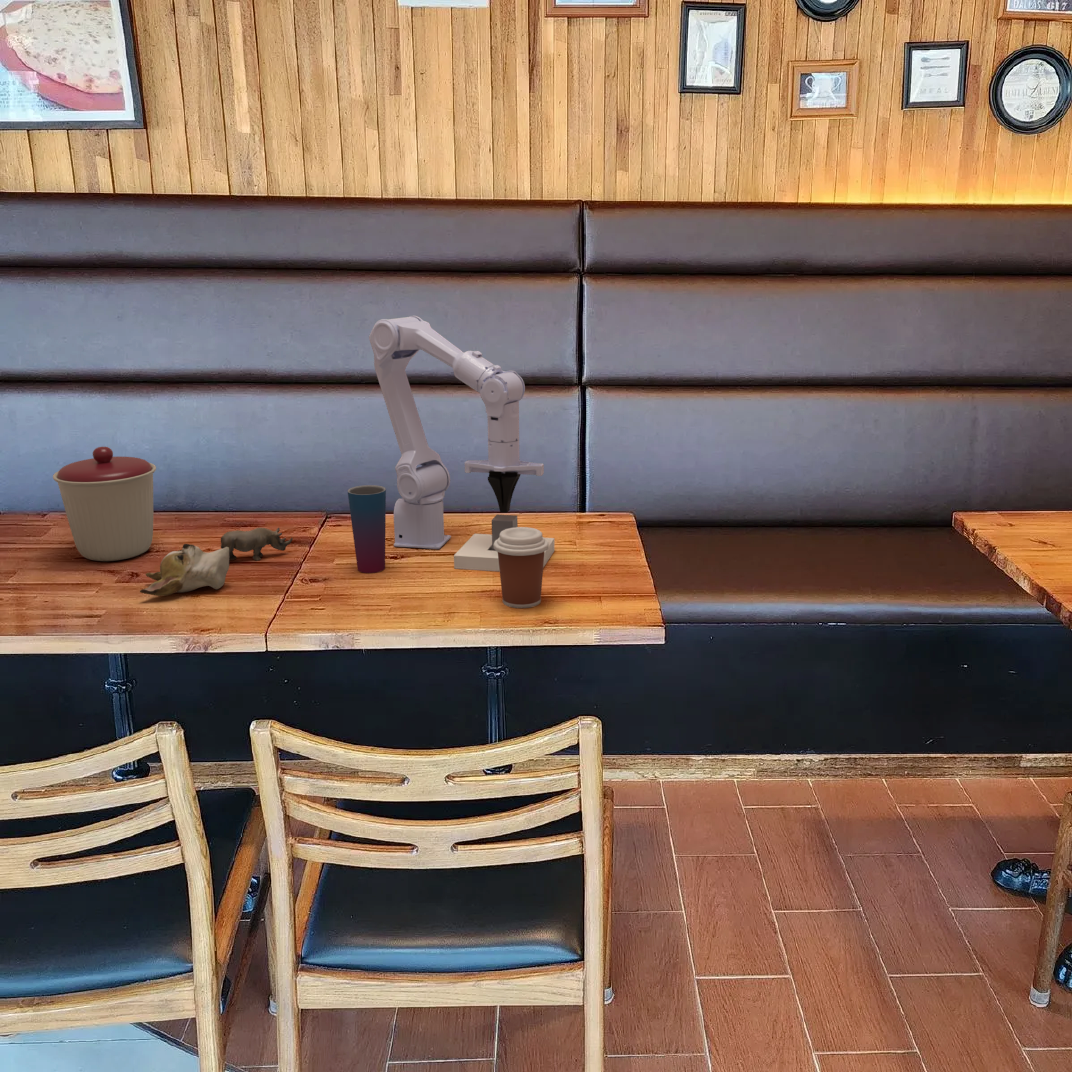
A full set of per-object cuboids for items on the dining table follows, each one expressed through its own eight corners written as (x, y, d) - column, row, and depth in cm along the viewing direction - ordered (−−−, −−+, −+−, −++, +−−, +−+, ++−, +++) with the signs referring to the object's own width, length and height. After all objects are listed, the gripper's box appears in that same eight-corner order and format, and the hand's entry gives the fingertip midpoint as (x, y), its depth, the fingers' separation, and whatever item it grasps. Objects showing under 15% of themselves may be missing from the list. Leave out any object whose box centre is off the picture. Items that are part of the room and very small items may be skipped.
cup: (397, 565, 187) (393, 487, 183) (376, 576, 181) (371, 496, 177) (366, 560, 190) (361, 483, 185) (345, 571, 184) (339, 492, 180)
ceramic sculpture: (226, 547, 170) (132, 560, 167) (234, 595, 172) (142, 608, 169) (228, 530, 180) (139, 542, 176) (236, 575, 182) (149, 588, 179)
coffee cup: (509, 615, 163) (508, 544, 159) (485, 597, 171) (484, 529, 167) (558, 605, 167) (558, 536, 164) (533, 588, 175) (532, 522, 171)
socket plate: (454, 568, 185) (453, 555, 185) (474, 545, 198) (474, 533, 198) (539, 574, 182) (539, 560, 181) (554, 550, 195) (554, 538, 194)
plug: (492, 561, 188) (491, 520, 186) (497, 554, 192) (496, 514, 190) (513, 562, 188) (512, 521, 185) (517, 555, 191) (517, 515, 189)
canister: (43, 562, 191) (26, 453, 184) (115, 535, 207) (101, 434, 200) (118, 573, 184) (102, 460, 178) (185, 545, 200) (173, 441, 194)
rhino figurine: (295, 556, 193) (293, 526, 191) (221, 566, 188) (218, 535, 186) (292, 550, 196) (289, 521, 195) (219, 559, 191) (215, 529, 190)
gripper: (459, 442, 181) (461, 515, 185) (537, 445, 178) (538, 519, 182) (469, 434, 188) (471, 505, 192) (546, 437, 185) (546, 508, 189)
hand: (504, 511), depth 187 cm, fingers closed
